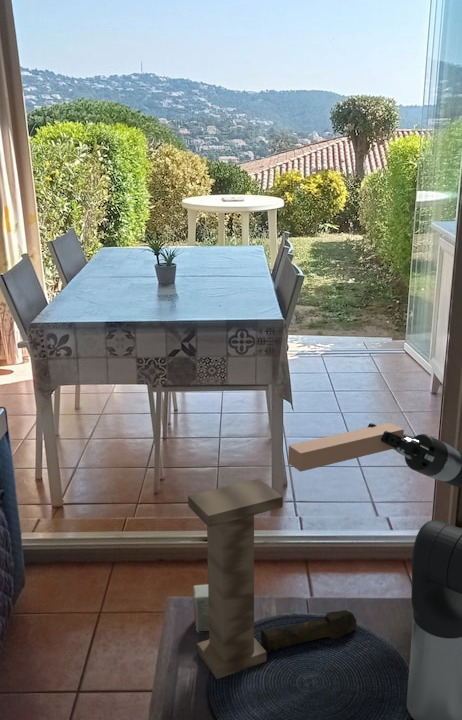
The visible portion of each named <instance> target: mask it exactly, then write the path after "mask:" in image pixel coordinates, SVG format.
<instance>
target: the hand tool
mask: <svg viewBox="0 0 462 720" xmlns="http://www.w3.org/2000/svg"><path fill="white" fill-rule="evenodd" d="M356 629H357V619H356V617H355V616H354V613H353V612H350V611H348V610H347V609H343V610H339V611H330V612H327V613H326V614H325V616H324V617H322V618H319V619H314V620H313V619H312V620H309V621H304V622H300V623H295V624H291V625H285V626H281V627H276V628H272V629H264V628H261V630H260V642H261V646H262V647H263V648H264V649H265V651H266V652H267V654H269V653H270V652H271V651H273V652H276V651H278V649H280V648H285V647H289V646H293V645H298V644H303V643H306V642H311V641H315V640H319V639H323V638H324V639H325V638H329V640H331V639H332V640H333V639H337V638H340V637H342V636H345V635H347V634H349V633H351V632H353V631H354V630H356Z"/></svg>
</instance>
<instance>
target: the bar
mask: <svg viewBox="0 0 462 720" xmlns="http://www.w3.org/2000/svg"><path fill="white" fill-rule="evenodd" d="M376 425H377V426H373V427H368V426H367V427H368V428H367V427H364V428H360V429H356V430H350V431H347V432H342V433H338V434H334V435H329V436H325V437H319V438H316V439H312V440H306V441H302V442H298V443H294V444H289V445H288V464H289V465H290V466H292V467H293V468H294V469H296V470H297V471H299V472H305V471H309V470H313V469H317V468H322V467H325V466H329V465H333V464H338V463H342V462H346V461H348V460H353V459H357V458H358V459H359V458H362V457H366V456H369V455H374V454H378V453H382V452H386V451H390V450H394V449H395V448H394V447H392V446H390V445H388V444H386V443H383V442H382V441H381V438H382V436H383V433H384V432H385V431H388V432H390V433H392V434H395V435H397V436H399V437H400V438H401V437H402V438H403V434H404V431H405V429H404V428H402V427H401V426H398V425H396V424H395V423H392V422H386V423H383V424H376Z"/></svg>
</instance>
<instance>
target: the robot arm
mask: <svg viewBox="0 0 462 720" xmlns="http://www.w3.org/2000/svg"><path fill="white" fill-rule="evenodd" d="M377 425H378V424H375V423H372V422H370V423H369V424H368V425H367V427H366V428H368V427H373V426H377ZM381 441H382V442H383V443H386V444H388V445H390V446H392V447H394V448H395V449H393V450H394V451H395V452H396V453H398V454H400V455H402V456H404V460H405V463H406V466H408V468H409V469H411V470H413V471H415V472H417V473H419V474H422V475H423V476H427V477H429V478H431V479H434V480H437V481H441V482H443V483H445V484H448V485H450V486H453V487H456V488H462V451H459V450H457V449H456V448H454V447H452V445H450V444H447V443H446V442H444V441H442V440H439V439H437V438H436V437H433V436H431V435H429V434H426V433H421V434H417V435H415V436H413V437H412V436H410V435H408V434H403V438H402V437H401V438H400V437H399V436H397V435H395V434H392V433H390V432H388V431H385V432H384V433H383V436H382V438H381ZM412 549H413V550H412V557H411V596H410V597H411V599H410V600H411V606H412V607H411V608H412V612H413V613H412V623H411V624H412V626H411V640H410V651H409V652H410V654H409V655H410V656H409V668H408V680H407V681H408V682H407V692H406V709H407V712H408V714H409V713H410V714H409V715H410V716H411V718H412V719H413V720H462V528H460V527H458V526H455V525H452V524H450V523H447V522H443V521H440V520H435V519H434V520H433V519H432V520H428V521H427V522H425V523H424V524H422V526H421V527H420V529H419V530H418V532H417V535H416V537H415V540H414V544H413V548H412Z"/></svg>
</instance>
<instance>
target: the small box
mask: <svg viewBox="0 0 462 720" xmlns="http://www.w3.org/2000/svg"><path fill="white" fill-rule="evenodd" d="M193 606H194V607H193V609H194V612H193V613H194V614H193V615H194V626H195V627H196V628H195V632H196V631H209V599H208V583H205V584H197V585H196V584H195V585H193Z"/></svg>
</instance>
